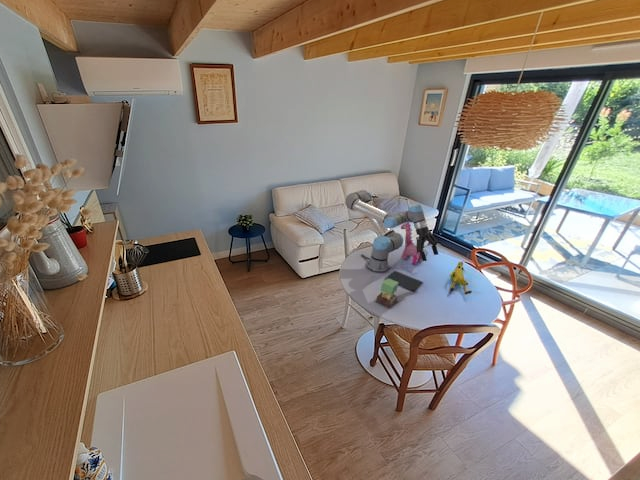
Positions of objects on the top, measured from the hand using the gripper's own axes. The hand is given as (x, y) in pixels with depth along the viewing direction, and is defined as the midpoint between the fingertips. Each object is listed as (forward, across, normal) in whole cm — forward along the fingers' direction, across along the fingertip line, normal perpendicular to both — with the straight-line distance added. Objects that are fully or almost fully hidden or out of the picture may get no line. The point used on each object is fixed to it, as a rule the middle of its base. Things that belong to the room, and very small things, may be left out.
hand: (430, 257), depth 190 cm
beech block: (+11, -43, +6) cm, 45 cm away
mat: (+11, -15, +14) cm, 23 cm away
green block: (+7, -43, +4) cm, 43 cm away
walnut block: (+14, -43, +8) cm, 46 cm away
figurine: (+24, +14, -5) cm, 28 cm away
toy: (+3, +15, +28) cm, 32 cm away
